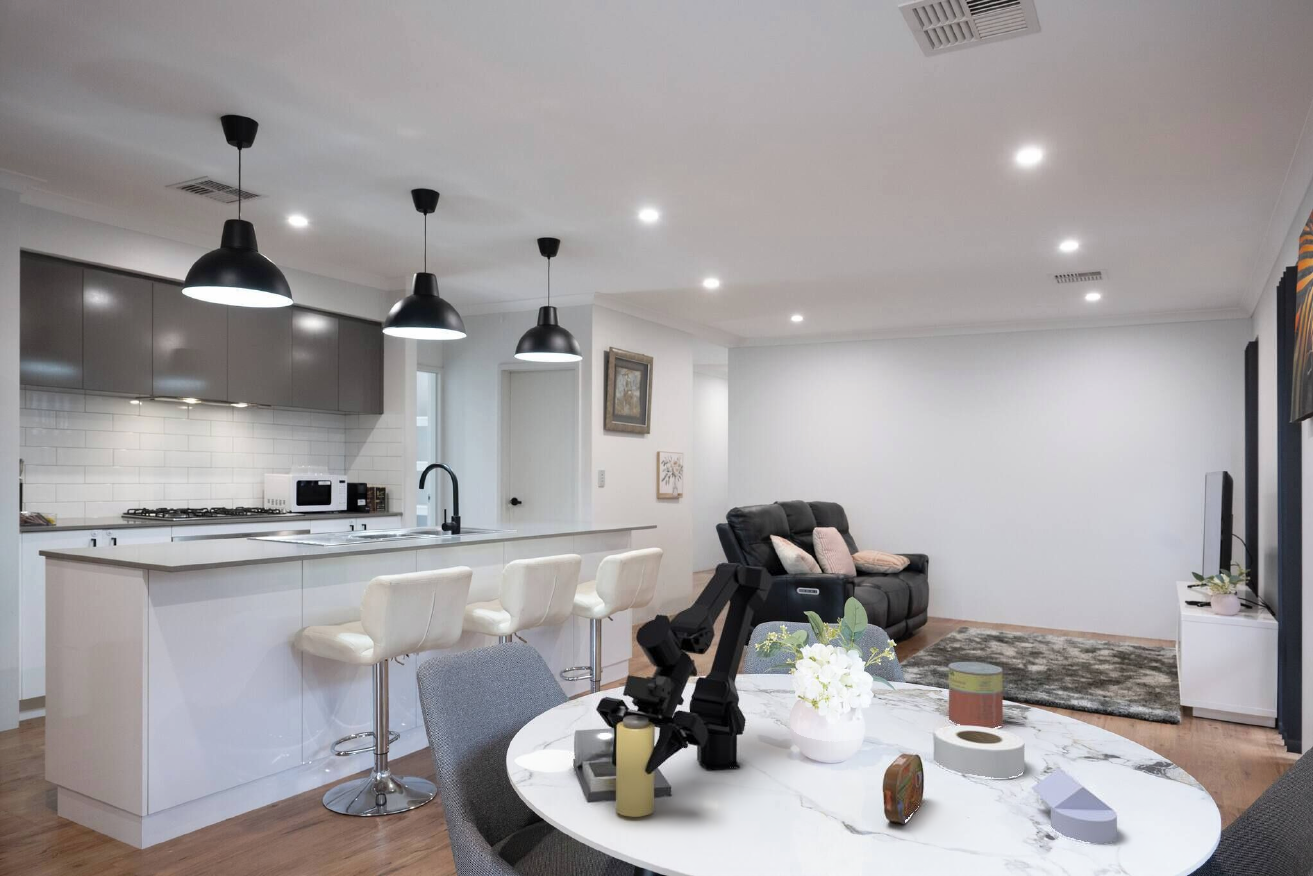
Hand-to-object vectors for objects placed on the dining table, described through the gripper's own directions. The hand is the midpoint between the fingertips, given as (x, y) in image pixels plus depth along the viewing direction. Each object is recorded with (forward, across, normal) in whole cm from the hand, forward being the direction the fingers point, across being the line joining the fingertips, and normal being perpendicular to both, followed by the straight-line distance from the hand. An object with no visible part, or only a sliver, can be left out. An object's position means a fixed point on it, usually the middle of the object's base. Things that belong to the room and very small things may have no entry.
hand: (630, 768), depth 133 cm
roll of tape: (-34, +40, +46) cm, 70 cm away
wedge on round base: (-20, +59, +31) cm, 70 cm away
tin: (-13, +35, +24) cm, 44 cm away
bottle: (+4, 0, +6) cm, 7 cm away
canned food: (-55, +34, +66) cm, 92 cm away
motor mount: (-3, -10, +14) cm, 17 cm away
